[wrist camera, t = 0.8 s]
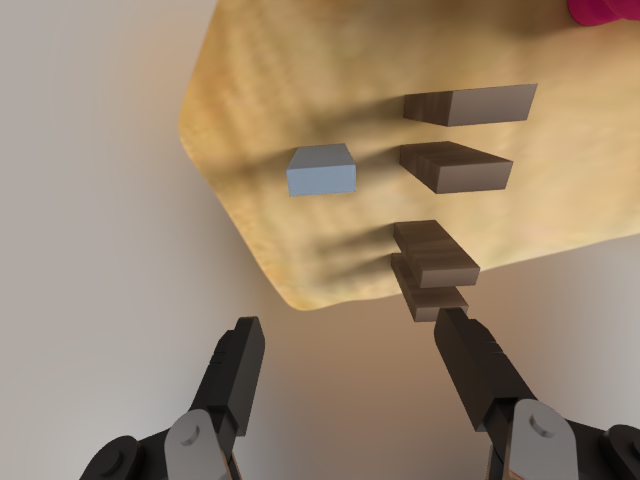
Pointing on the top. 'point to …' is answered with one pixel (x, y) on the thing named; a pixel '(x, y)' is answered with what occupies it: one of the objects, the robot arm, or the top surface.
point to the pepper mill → (603, 11)
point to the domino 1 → (321, 170)
